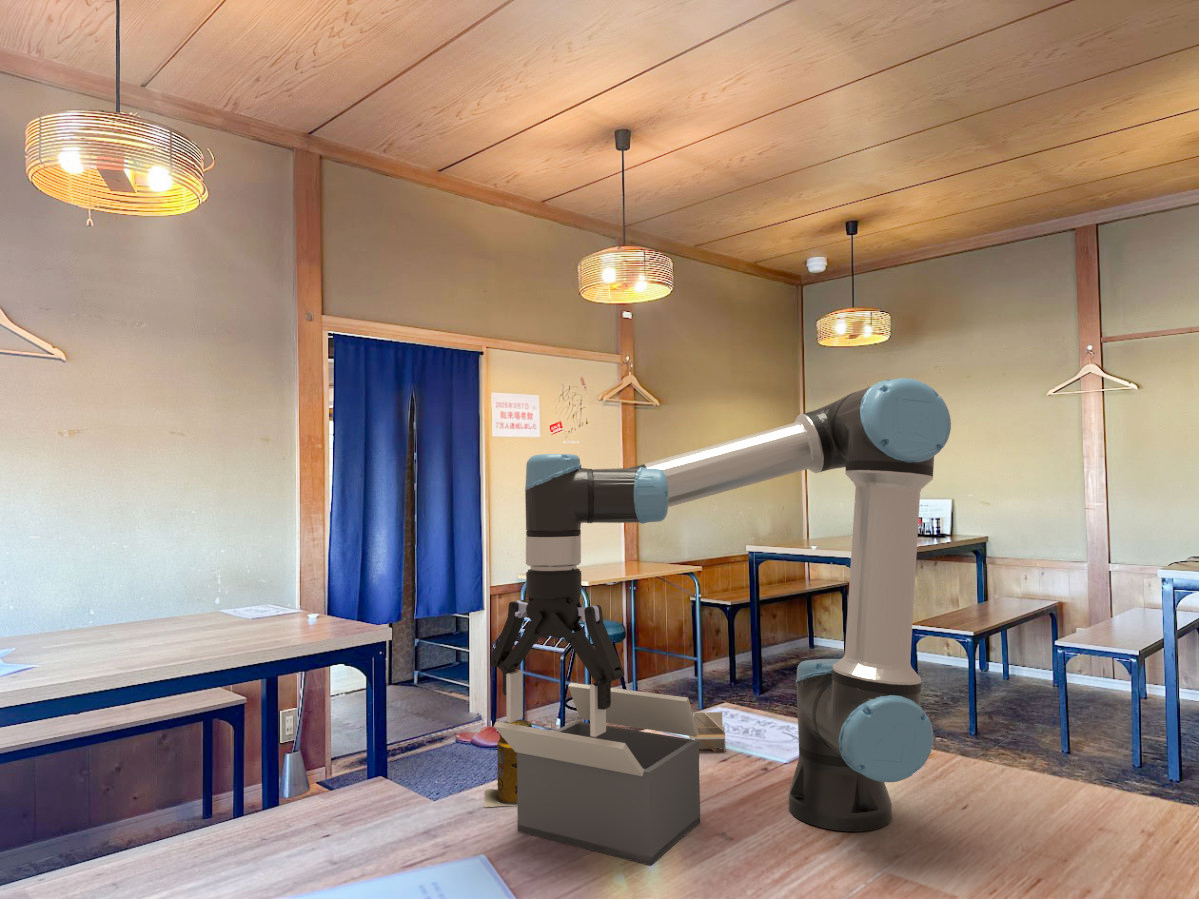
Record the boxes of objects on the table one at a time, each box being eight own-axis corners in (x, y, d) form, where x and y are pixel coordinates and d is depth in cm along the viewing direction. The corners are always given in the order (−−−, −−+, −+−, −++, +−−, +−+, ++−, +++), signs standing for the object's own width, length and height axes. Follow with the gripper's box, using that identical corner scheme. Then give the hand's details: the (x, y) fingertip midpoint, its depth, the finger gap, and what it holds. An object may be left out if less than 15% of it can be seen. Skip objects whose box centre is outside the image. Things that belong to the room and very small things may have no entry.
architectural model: (726, 756, 149) (725, 716, 149) (690, 757, 149) (689, 717, 149) (724, 751, 152) (723, 712, 153) (688, 751, 152) (687, 712, 153)
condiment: (537, 805, 125) (537, 728, 126) (484, 808, 124) (484, 731, 125) (535, 788, 132) (534, 716, 133) (484, 791, 131) (484, 718, 132)
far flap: (696, 737, 119) (698, 733, 119) (686, 701, 116) (688, 697, 117) (580, 718, 129) (582, 715, 130) (568, 685, 127) (570, 682, 127)
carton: (700, 822, 117) (698, 740, 118) (650, 865, 103) (649, 772, 104) (576, 795, 128) (576, 721, 129) (517, 831, 115) (517, 747, 116)
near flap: (625, 743, 100) (623, 748, 100) (644, 770, 104) (642, 776, 104) (496, 721, 111) (493, 726, 110) (517, 747, 115) (515, 752, 114)
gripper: (647, 568, 103) (650, 732, 102) (498, 562, 116) (499, 708, 115) (619, 573, 97) (622, 748, 96) (465, 566, 110) (465, 721, 109)
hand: (555, 727), depth 105 cm, fingers open, 13 cm apart
